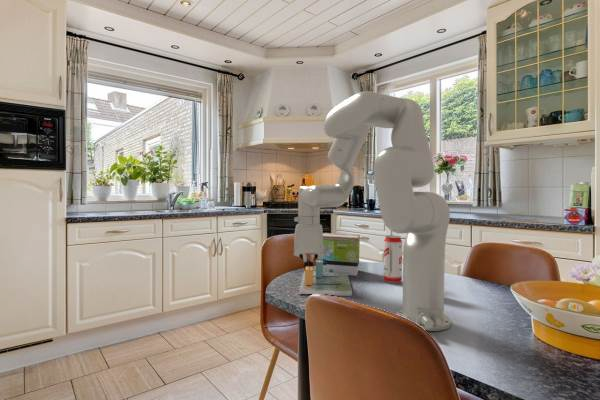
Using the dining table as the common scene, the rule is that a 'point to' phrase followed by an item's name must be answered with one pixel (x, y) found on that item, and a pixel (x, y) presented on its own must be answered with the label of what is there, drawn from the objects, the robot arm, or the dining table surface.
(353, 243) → the tea box
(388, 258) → the beer can
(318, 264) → the fader teal
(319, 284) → the console
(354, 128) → the robot arm
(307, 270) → the fader orange
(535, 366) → the dining table surface
